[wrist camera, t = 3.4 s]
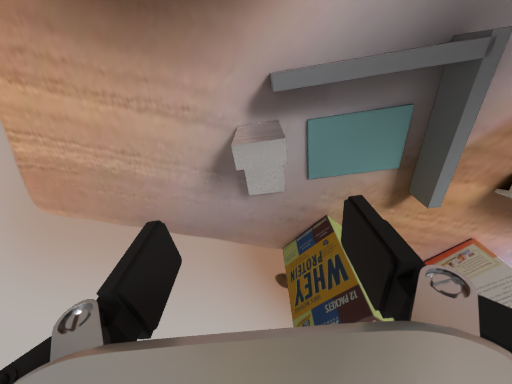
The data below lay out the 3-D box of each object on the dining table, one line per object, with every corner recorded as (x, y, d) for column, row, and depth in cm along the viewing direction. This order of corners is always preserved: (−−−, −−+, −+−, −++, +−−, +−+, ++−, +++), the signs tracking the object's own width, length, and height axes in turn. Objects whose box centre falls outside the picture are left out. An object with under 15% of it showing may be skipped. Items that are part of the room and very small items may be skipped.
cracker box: (409, 287, 42) (522, 450, 24) (395, 274, 40) (507, 442, 22) (485, 253, 36) (704, 431, 19) (474, 236, 34) (709, 419, 16)
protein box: (326, 213, 32) (375, 315, 19) (381, 255, 37) (450, 360, 24) (280, 248, 36) (294, 353, 23) (335, 282, 41) (372, 384, 28)
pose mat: (307, 119, 24) (308, 120, 24) (412, 104, 23) (414, 104, 23) (308, 177, 29) (308, 179, 28) (397, 166, 28) (398, 167, 27)
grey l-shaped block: (237, 125, 25) (231, 146, 18) (278, 119, 24) (285, 138, 18) (249, 188, 30) (247, 221, 23) (283, 183, 29) (291, 216, 23)
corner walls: (268, 67, 22) (271, 67, 18) (470, 32, 20) (513, 25, 17) (282, 206, 31) (285, 223, 28) (419, 190, 30) (440, 206, 26)
